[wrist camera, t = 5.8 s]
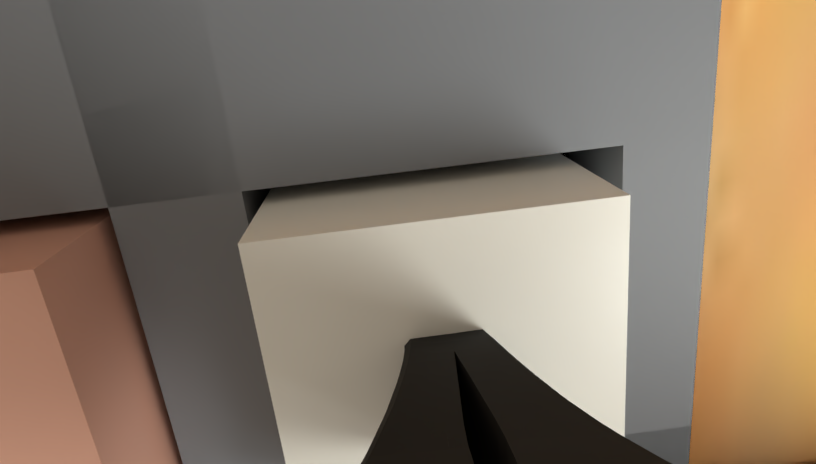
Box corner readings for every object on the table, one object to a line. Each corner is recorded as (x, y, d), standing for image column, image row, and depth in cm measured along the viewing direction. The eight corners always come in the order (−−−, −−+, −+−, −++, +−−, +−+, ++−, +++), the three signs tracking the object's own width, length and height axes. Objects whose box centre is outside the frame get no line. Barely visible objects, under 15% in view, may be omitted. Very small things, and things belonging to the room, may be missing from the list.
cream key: (549, 147, 12) (630, 195, 9) (554, 380, 14) (622, 501, 11) (275, 180, 12) (237, 244, 8) (319, 412, 14) (304, 547, 10)
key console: (643, -59, 12) (727, -88, 9) (628, 463, 17) (682, 549, 14) (-319, 45, 12) (-540, 47, 9) (-61, 561, 16) (-150, 672, 13)
